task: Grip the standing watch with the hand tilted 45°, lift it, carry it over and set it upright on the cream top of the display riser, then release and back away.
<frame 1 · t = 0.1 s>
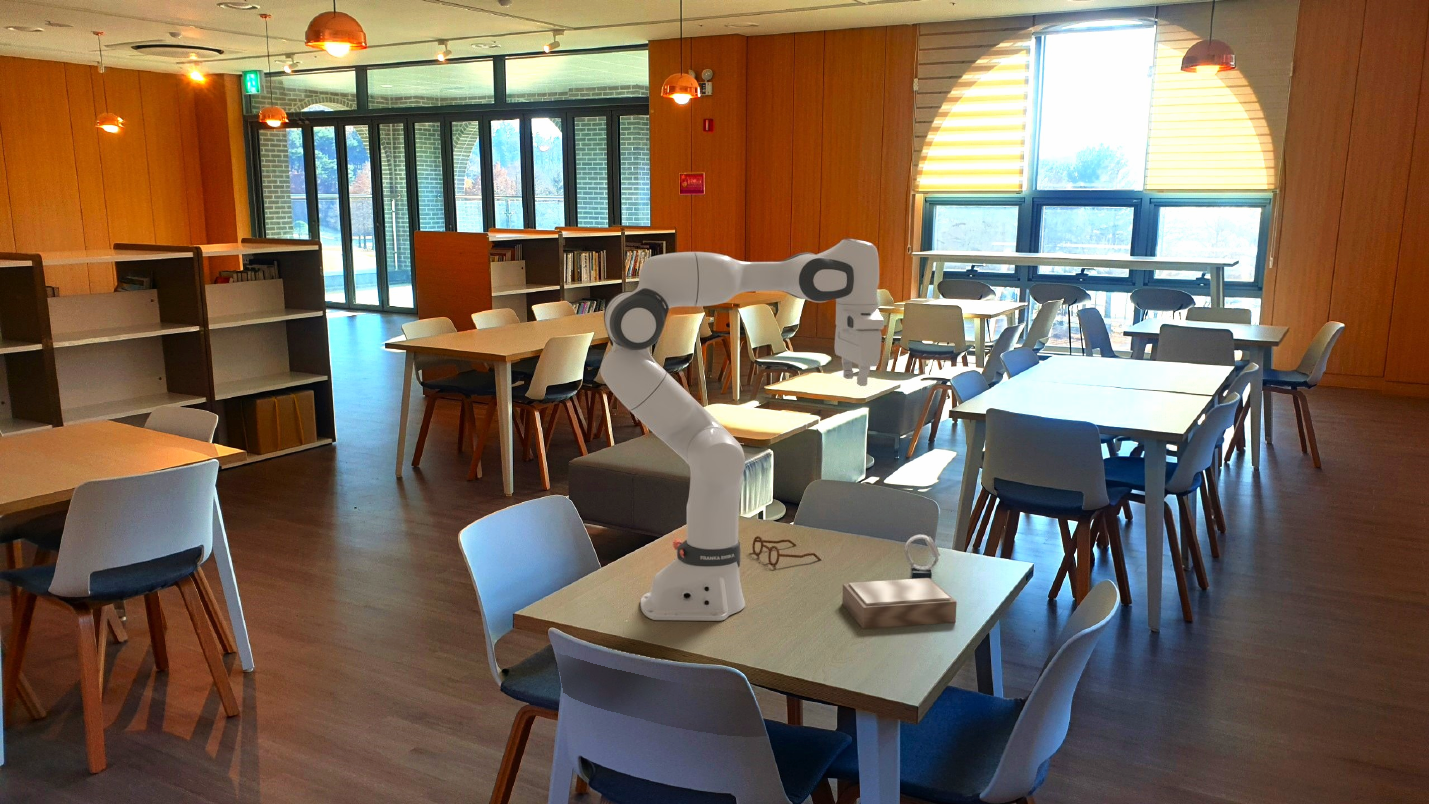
hand: (854, 381, 216), 48 cm above the table, tool pointing down, fingers open, 8 cm apart
glasses: (786, 558, 252), on the table
display riser: (897, 612, 215), on the table
watch: (920, 582, 234), on the table
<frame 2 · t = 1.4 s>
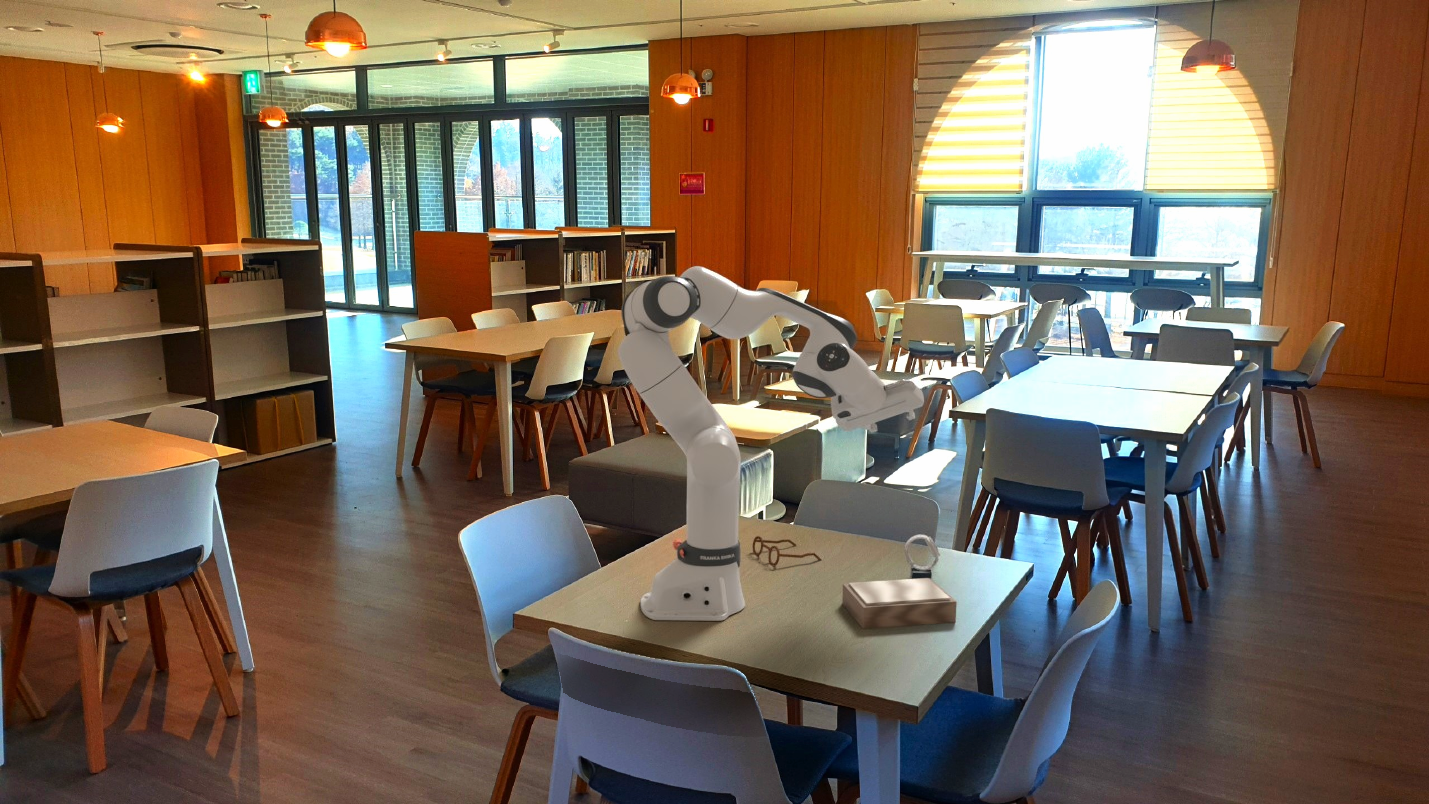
hand: (893, 423, 233), 36 cm above the table, tool tilted 55°, fingers open, 8 cm apart
nothing on the table moved.
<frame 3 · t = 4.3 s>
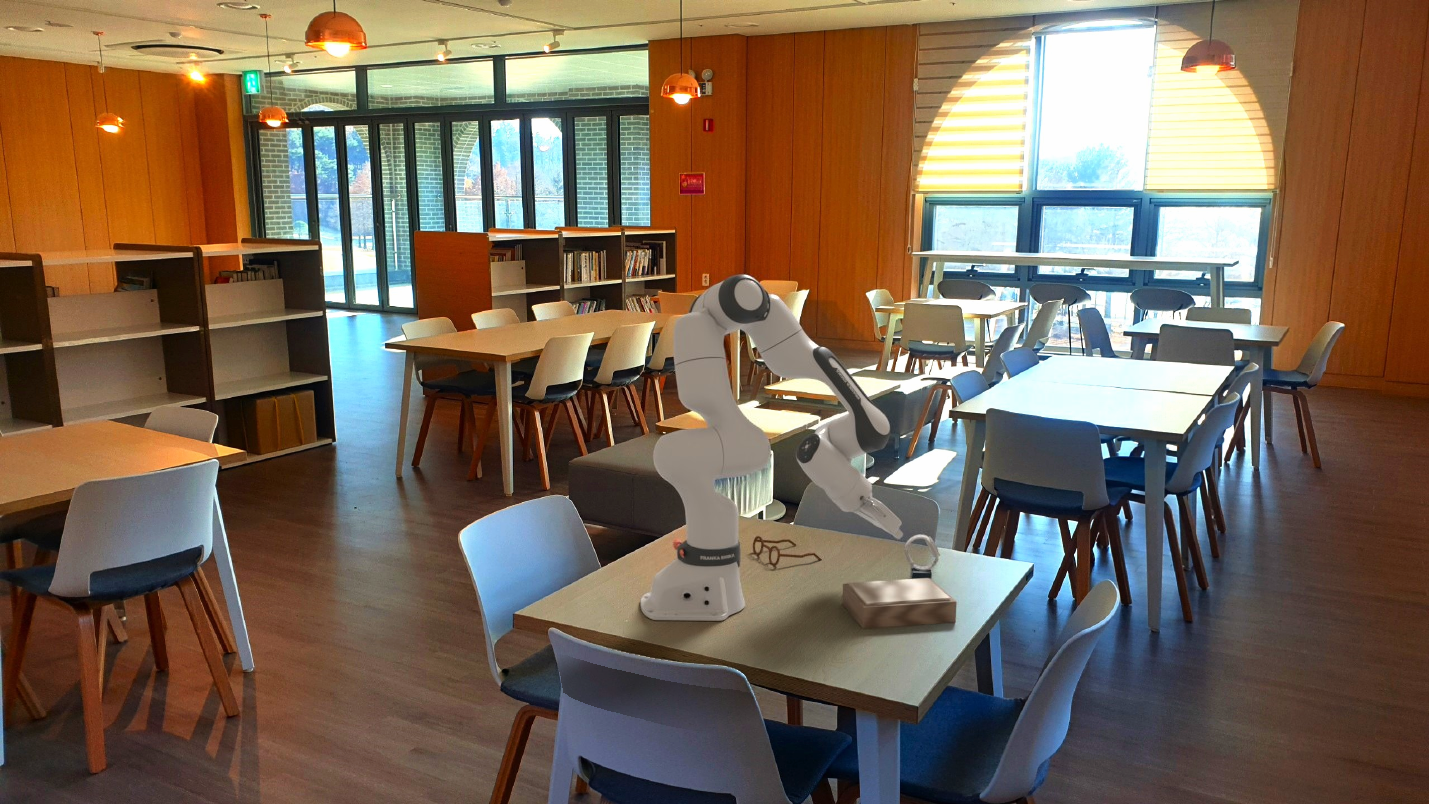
hand: (889, 530, 230), 13 cm above the table, tool tilted 45°, fingers open, 8 cm apart
nothing on the table moved.
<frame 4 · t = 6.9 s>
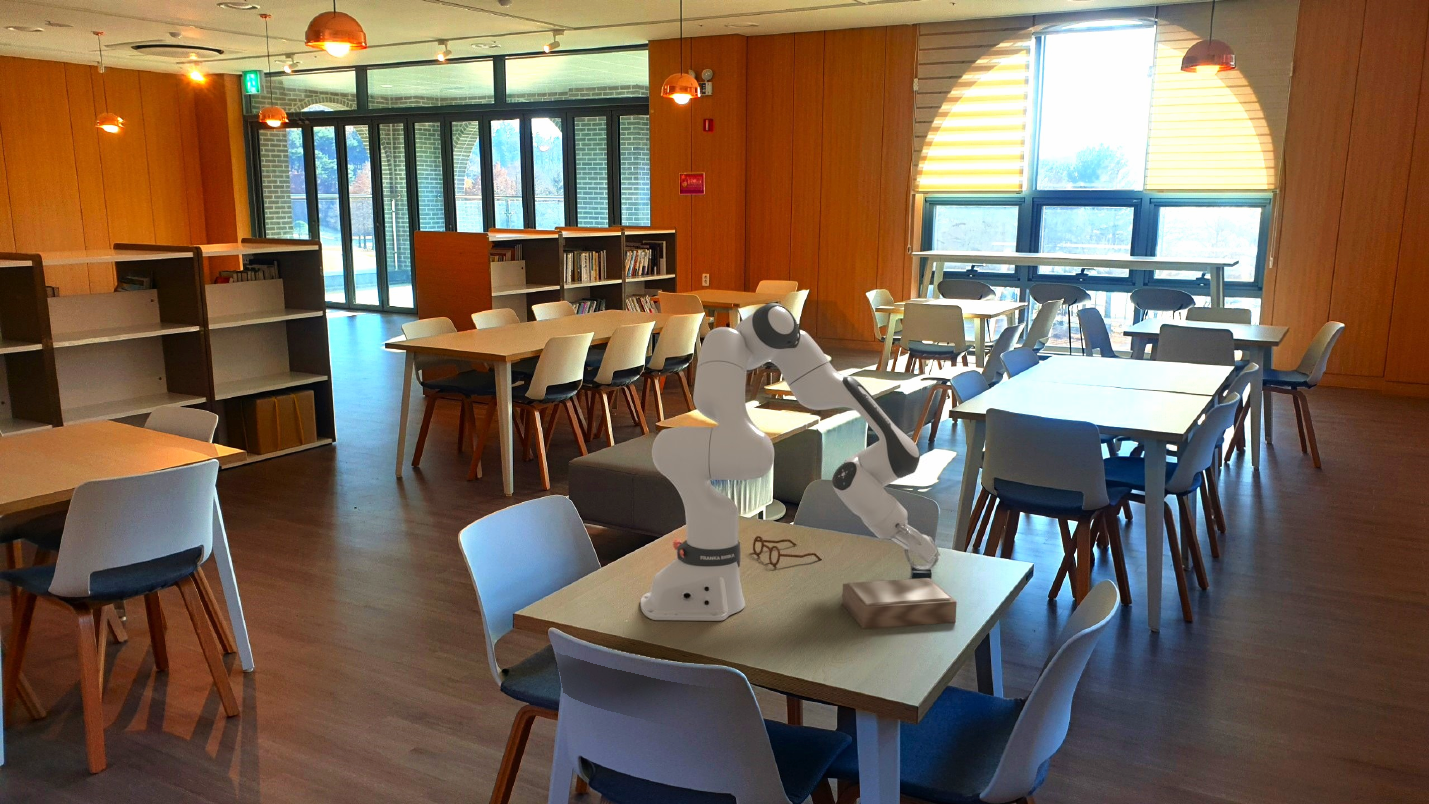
hand: (924, 556, 233), 6 cm above the table, tool tilted 45°, fingers open, 5 cm apart
watch: (920, 582, 234), on the table, touching gripper
everything else where it was.
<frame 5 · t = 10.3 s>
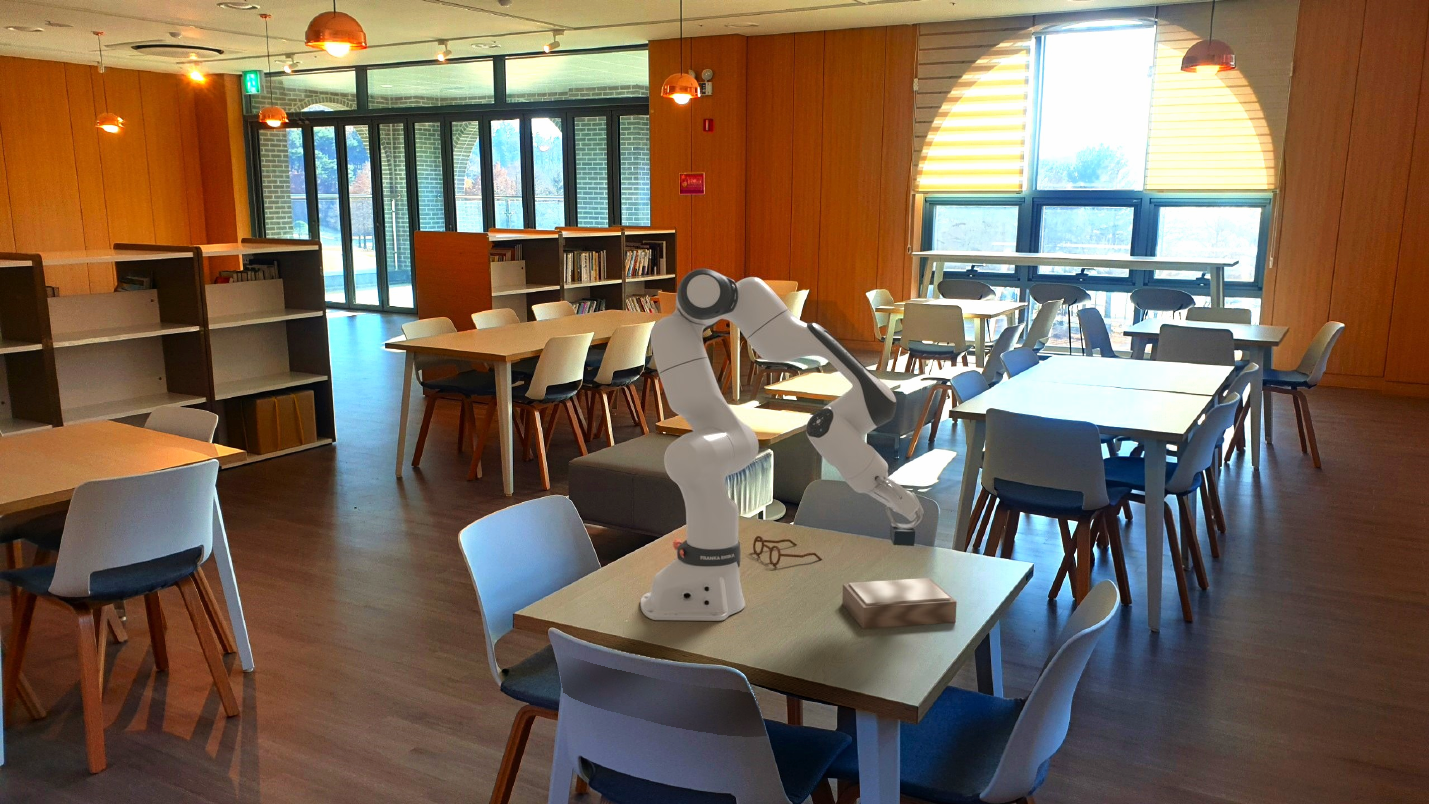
hand: (906, 514, 214), 21 cm above the table, tool tilted 45°, fingers closed on watch, 4 cm apart
watch: (902, 542, 216), point 15 cm above the table, touching gripper
everything else where it was.
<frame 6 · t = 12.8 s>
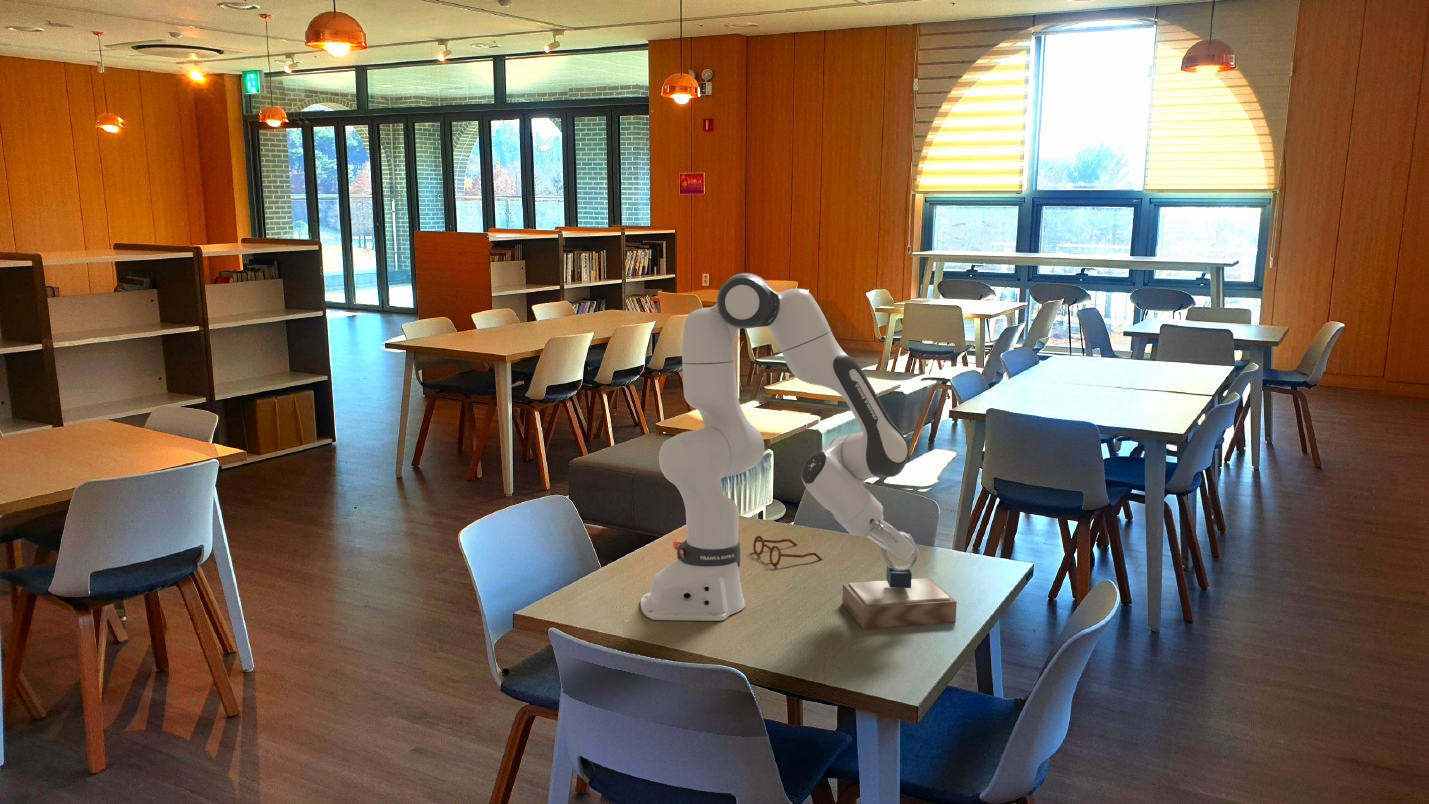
hand: (902, 555, 213), 13 cm above the table, tool tilted 45°, fingers closed on watch, 4 cm apart
watch: (898, 584, 214), point 6 cm above the table, touching gripper
everything else where it was.
when the fingers open (12 cm above the table, at t = 13.5 s): watch moves 4 cm, resting on display riser.
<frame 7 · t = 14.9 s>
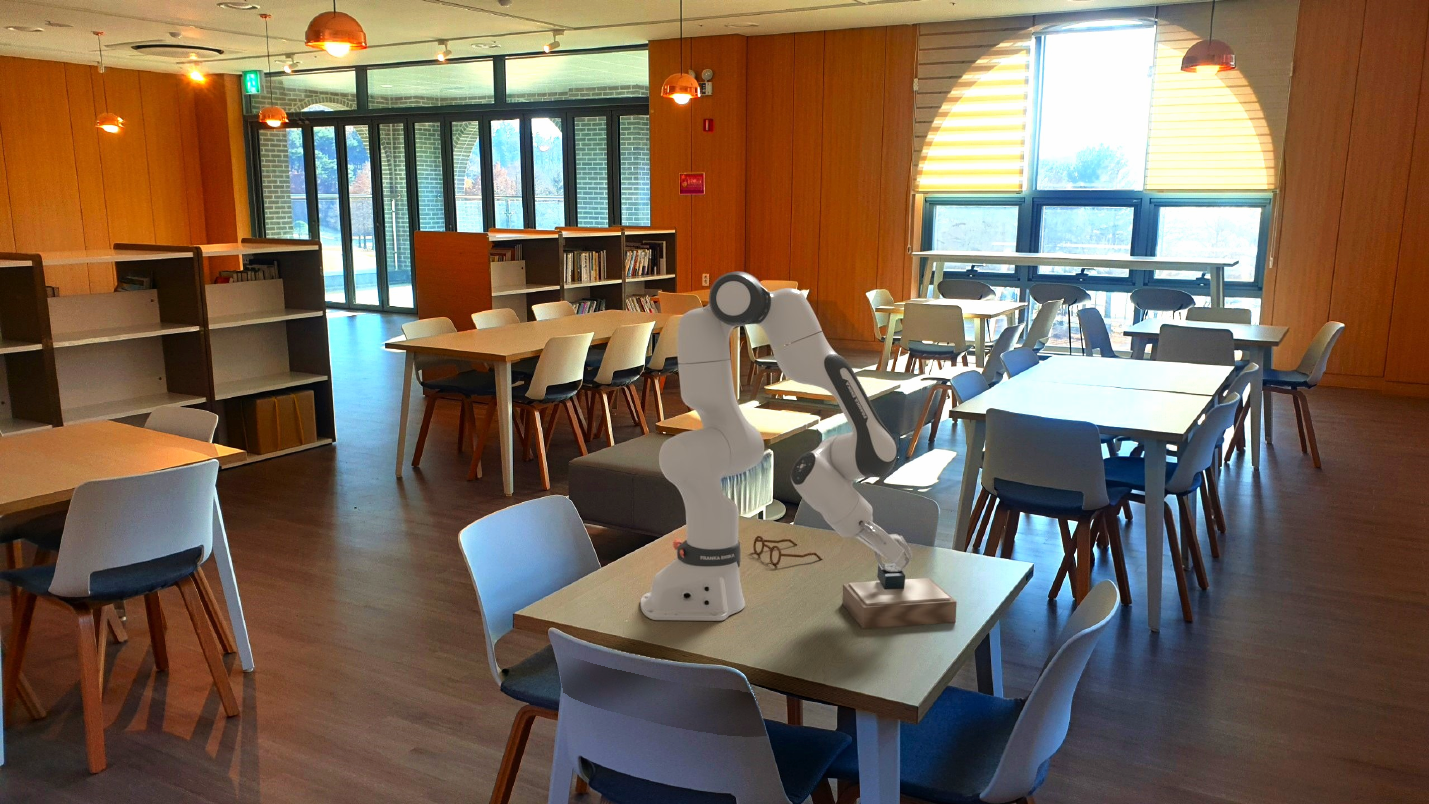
hand: (891, 557, 213), 12 cm above the table, tool tilted 45°, fingers open, 8 cm apart
watch: (890, 583, 218), point 5 cm above the table, touching display riser, gripper
everything else where it was.
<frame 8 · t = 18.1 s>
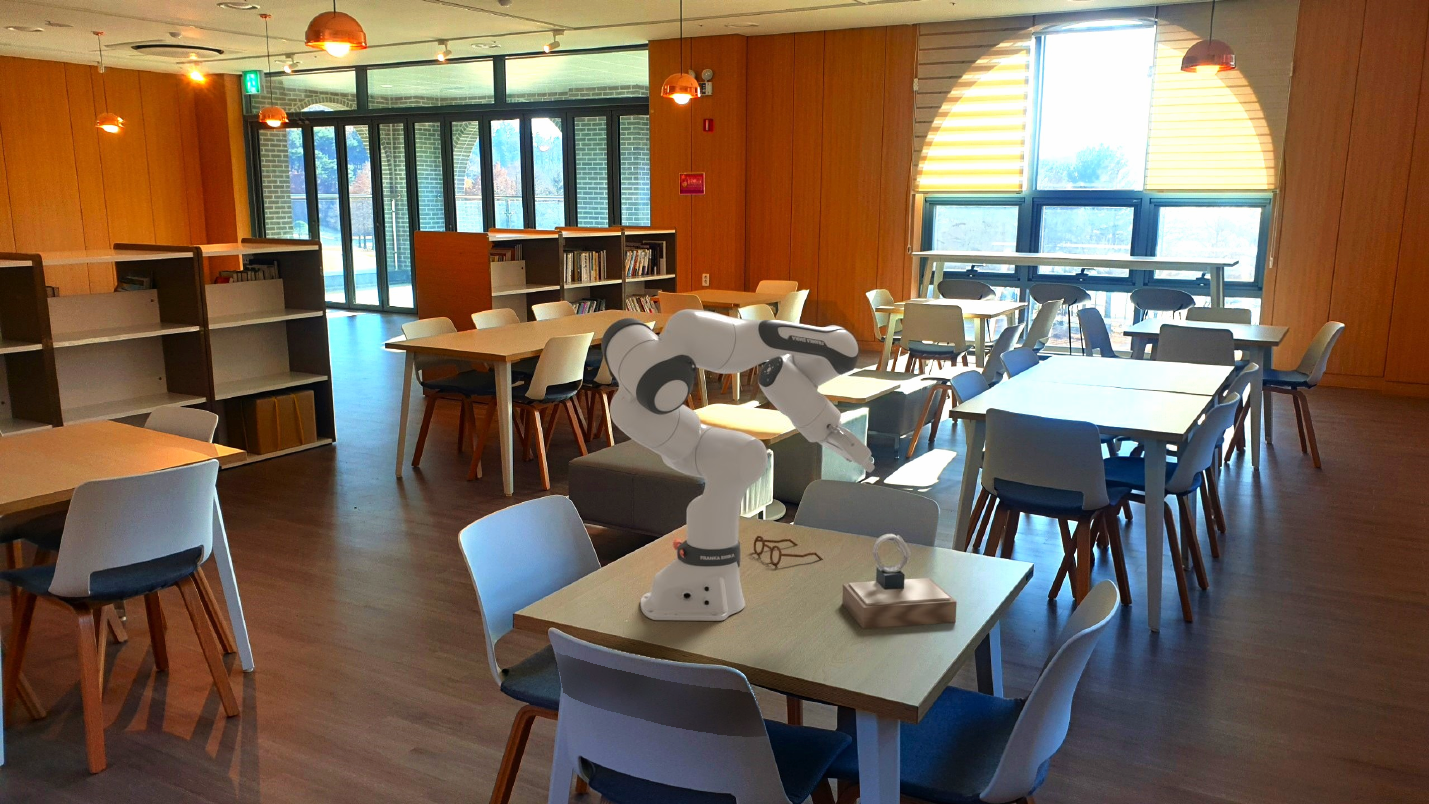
hand: (861, 464, 213), 31 cm above the table, tool tilted 45°, fingers open, 8 cm apart
watch: (890, 585, 218), point 5 cm above the table, touching display riser
everything else where it was.
at the end: watch inside the target area on the display riser (3.5 cm from its centre), point 4.8 cm above the display riser's base; watch tilted 0°; the gripper is holding nothing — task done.
